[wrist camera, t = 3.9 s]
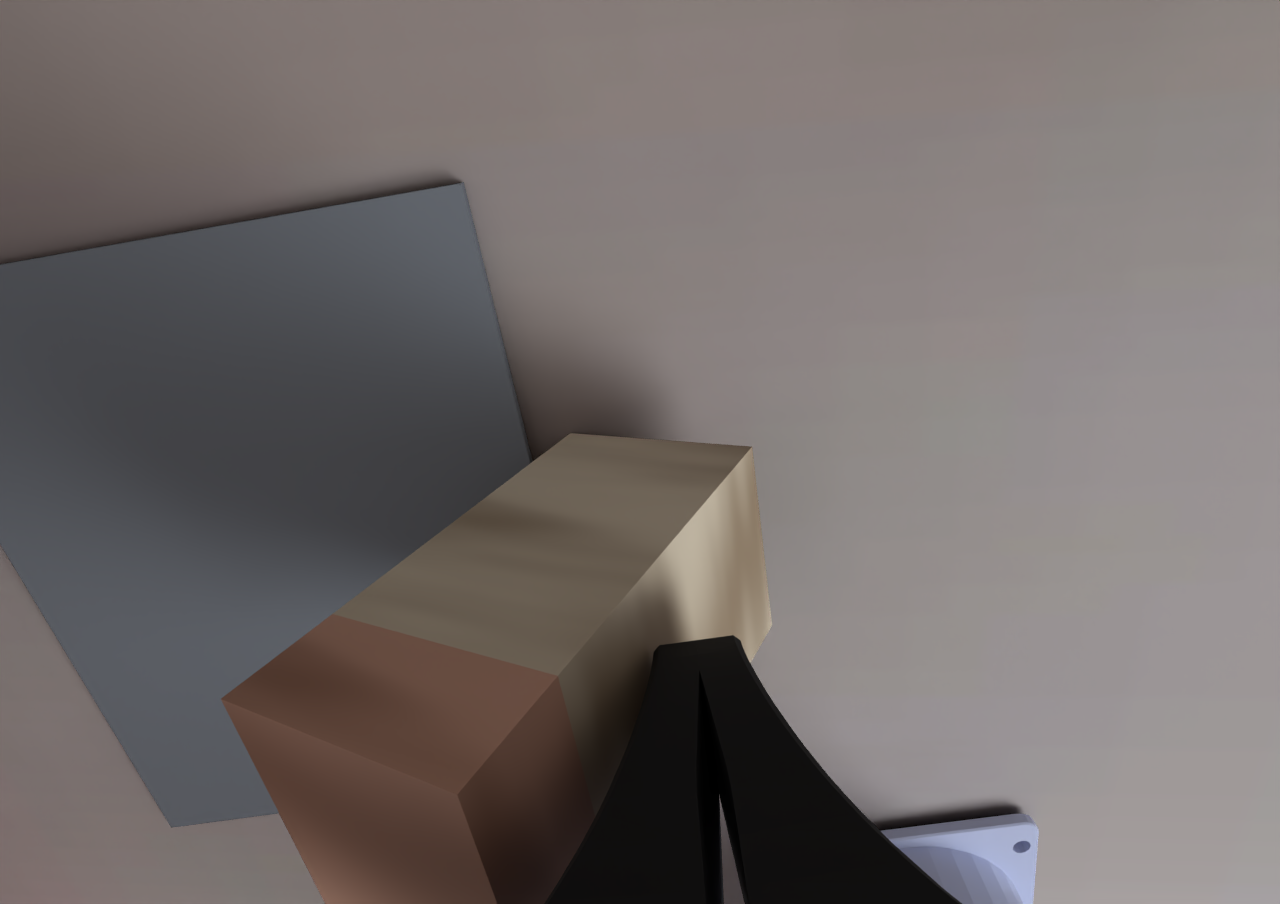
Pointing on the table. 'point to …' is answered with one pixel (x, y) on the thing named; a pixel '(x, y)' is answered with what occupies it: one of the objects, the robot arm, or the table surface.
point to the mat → (240, 452)
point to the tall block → (503, 672)
